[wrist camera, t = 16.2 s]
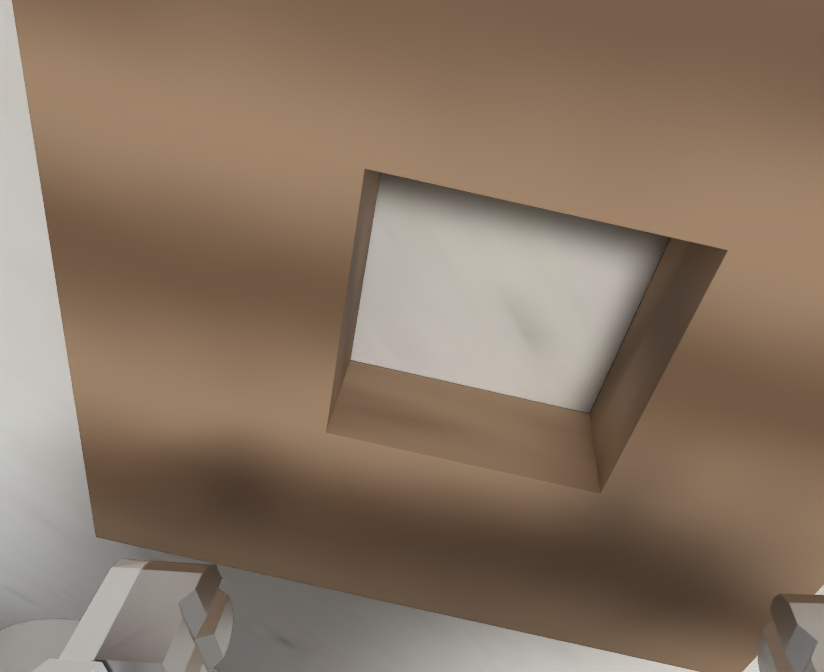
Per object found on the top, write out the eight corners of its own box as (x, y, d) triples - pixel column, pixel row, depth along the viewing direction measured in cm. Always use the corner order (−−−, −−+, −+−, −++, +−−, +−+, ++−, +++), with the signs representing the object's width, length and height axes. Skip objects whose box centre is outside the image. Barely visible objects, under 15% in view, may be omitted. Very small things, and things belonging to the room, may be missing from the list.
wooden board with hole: (711, 592, 23) (735, 679, 20) (140, 465, 23) (96, 537, 20) (1235, -85, 11) (1434, -71, 9) (71, -347, 11) (-52, -405, 9)
